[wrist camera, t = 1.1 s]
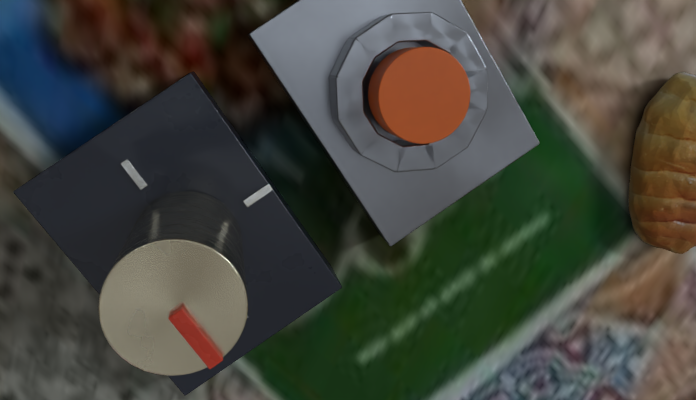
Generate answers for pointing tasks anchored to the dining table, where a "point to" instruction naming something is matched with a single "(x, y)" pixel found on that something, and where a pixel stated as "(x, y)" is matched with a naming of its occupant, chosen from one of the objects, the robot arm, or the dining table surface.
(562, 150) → the dining table surface
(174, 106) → the panel
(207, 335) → the dial
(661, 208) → the pastry
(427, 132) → the button
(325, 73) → the block
